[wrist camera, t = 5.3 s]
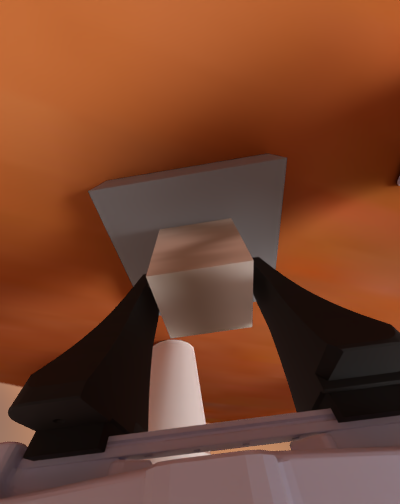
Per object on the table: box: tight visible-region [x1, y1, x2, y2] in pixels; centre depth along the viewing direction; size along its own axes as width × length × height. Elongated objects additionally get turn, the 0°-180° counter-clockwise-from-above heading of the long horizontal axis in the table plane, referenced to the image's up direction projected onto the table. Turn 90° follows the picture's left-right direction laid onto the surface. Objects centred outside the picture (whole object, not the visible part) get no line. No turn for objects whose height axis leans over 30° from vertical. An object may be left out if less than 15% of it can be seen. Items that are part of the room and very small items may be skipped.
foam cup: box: [144, 340, 211, 464], centre depth 21 cm, size 10×9×13 cm
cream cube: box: [146, 218, 254, 338], centre depth 12 cm, size 5×5×5 cm
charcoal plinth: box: [88, 154, 287, 315], centre depth 15 cm, size 12×12×3 cm
